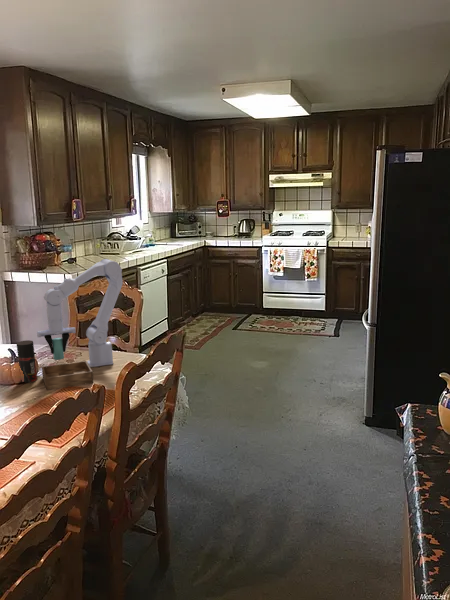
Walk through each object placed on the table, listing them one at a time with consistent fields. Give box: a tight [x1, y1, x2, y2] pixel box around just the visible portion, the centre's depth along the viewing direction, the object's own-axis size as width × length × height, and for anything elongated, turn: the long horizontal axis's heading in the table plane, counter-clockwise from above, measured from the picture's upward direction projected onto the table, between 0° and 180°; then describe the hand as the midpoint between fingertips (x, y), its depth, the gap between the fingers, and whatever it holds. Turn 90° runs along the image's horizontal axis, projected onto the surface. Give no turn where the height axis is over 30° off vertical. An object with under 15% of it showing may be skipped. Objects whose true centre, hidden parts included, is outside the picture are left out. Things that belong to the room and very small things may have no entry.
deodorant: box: [16, 339, 38, 384], centre depth 201 cm, size 6×6×15 cm
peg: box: [52, 337, 65, 361], centre depth 211 cm, size 4×4×8 cm
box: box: [41, 360, 94, 391], centre depth 201 cm, size 17×14×4 cm
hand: (58, 352), depth 211 cm, fingers closed on peg, 4 cm apart
